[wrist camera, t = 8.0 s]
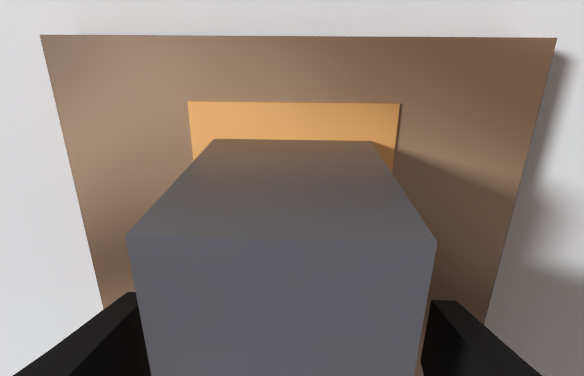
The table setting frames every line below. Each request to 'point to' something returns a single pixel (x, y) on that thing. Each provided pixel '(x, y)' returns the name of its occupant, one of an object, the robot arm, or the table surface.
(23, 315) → the table surface
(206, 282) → the block
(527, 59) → the board
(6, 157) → the table surface
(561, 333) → the table surface
